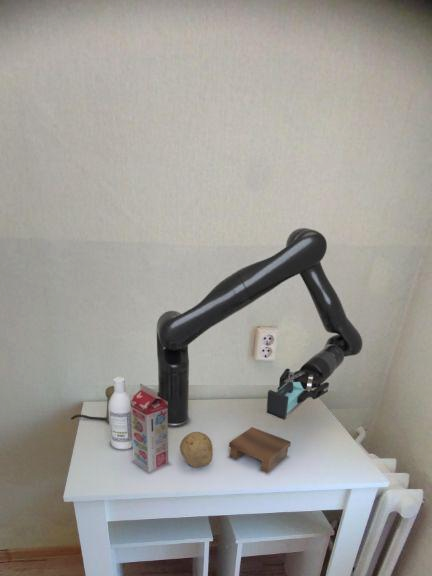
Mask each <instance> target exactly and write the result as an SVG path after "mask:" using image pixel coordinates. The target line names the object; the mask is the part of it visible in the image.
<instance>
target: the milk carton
mask: <svg viewBox="0 0 432 576" xmlns="http://www.w3.org/2000/svg"><path fill="white" fill-rule="evenodd" d="M139 385H140V386H139V388H140V389H139V390H138V391H137V392H136V393H135V394H134V395H133V396H132V397H130V398H131V399H130V403H131V421H132V440H133V447H132V456H133V463H134V464H135V465H138V466H139V467H140V468H142V469H143V470H144V471H146V472H147V473H151V472H153V471H155V470H157V469H160V468H162V467H164V466H167V465H168V464H169V426H168V402H167V401H166V400H164V399H162V398H160V397H158V391H156V390H154V389H152V388H150V387H148V386H147V385H144V384H142V383H140V384H139Z"/></svg>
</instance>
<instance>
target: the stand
mask: <svg viewBox="0 0 432 576" xmlns="http://www.w3.org/2000/svg"><path fill="white" fill-rule="evenodd" d="M290 447H291V441H290V440H288V439H285V438H283V437H280V436H277V435H274V434H273V433H269V432H266V431H263V430H261V429H258V428H256V427H253V426H251V427H250V428H248V429H247V430H245V431H244V432H243V433H241V434H240V435H238V436H237V437H235V438H233V439H232V440H231V441H229V442H228V448H230V451H229V458H231V459H233V460H237V459H239V458H240V457H242V456H243V455H247V456H250V457H252V458H255V459H256V460H259V461H261V469H260V471H261V472H263V473H265V474H269V472H270V471H271V470H273V469H274V468H275V467H276V466H278V465H279V464H280V463H281V462H283V461H284V460H285V459H286V458H287V457H288V451H289V448H290Z"/></svg>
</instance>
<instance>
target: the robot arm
mask: <svg viewBox="0 0 432 576" xmlns="http://www.w3.org/2000/svg"><path fill="white" fill-rule="evenodd" d="M327 249H328V242H327V239H326V237H325V236H324V235H323V233H321V232H319V231H318V230H315V229H313V228H312V229H311V228H307V227H300V228H296V229H294V230H293V231H292V232H291V233H290V234H289V235H288V237H287V239H286V242H285V247H284V248H283V249H281V250H280V251H278V252H277V253H275V254H273V255H272V256H270V257H267V258H265V259H262V260H259V261H256V262H254V263H251V264H249V265H245V266H244V267H242V268H239V269H238V270H236V271H235V272H233V273H232V274H230V275H228V276H227V277H225V278H224V279H222V280H221V281H219V283H217V284H216V285H215V286H214V287H213V288H212V289H211V290H210V291H209V292H208V293H207V295H206V296H205V297H204V298H202V300H201V301H200V302H198V303H197V304H196V305H194V306H192V307H190V309H188V310H185V311H183V312H182V313H181V312H179V311H177V310H167V311H165V312H164V313H162V314H161V315H160V316H159V318H158V319H157V322H156V357H157V381H158V390H157V392H158V397H160V398H162V399H164V400H166V401H167V402H168V427H174V428H175V427H181V426H185V425H186V424H187V423H188V422H189V393H190V392H189V391H190V390H189V389H190V387H189V386H190V385H189V384H190V357H189V345H191V343H193V342H194V341H195V340H196V339H198V338H199V337H201V335H203V334H204V333H205V332H207V331H208V330H209V329H211V328H213V327H214V326H216V325H217V324H219V323H221V322H223V321H225V320H226V319H228V318H229V317H231V316H233V315H234V314H236V313H238V312H240V311H242V310H243V309H245V308H247V307H248V306H250V305H251V304H253V303H254V302H255V301H257V300H259V299H260V298H262V297H263V296H265V295H266V294H268V293H269V292H271V291H272V290H274V289H276V288H277V287H278V286H280V285H281V284H282V283H284V282H286V281H288V280H290V279H291V278H293V277H296V276H298V275H299V276H300V277H301V279H302V281H303V283H304V285H305V287H306V289H307V291H308V293H309V296H310V298H311V300H312V303H313V305H314V308H315V309H316V312H317V314H318V317H319V319H320V322H321V324H322V326H323V329H324V330H325V331H326V332H327V333H330V334H334V335H332V336H330V337H329V338H328V339H327V340H326V342H325V344H324V346H323V348H322V349H321V350H320V351H319V352H318V353H316V354H314V355H313V356H312V357H311V358H309V360H307V361H306V362H305V363H304V364H302V366H301V367H300V368H299V370H296V371H294V372H293V371H291V369H290V368H285V370H284V371H283V372H282V373H281V375H280V376H279V384H278V387H277V389H276V390H277V391H278V390H279V389H280V388H281V387H282V386H284V385H285V384H286V383H288V382H300V383H301V385H302V387H303V389H304V390H303V392H302V393H301V394H300V395H299V396H298V397H297V403H299V404H300V403H301V402H302V403H304V402H305V401H306V400H307V399H310V398H312V400H317V399H319V398H320V397H321V396H323V395H325V394H326V393H328V391H329V388H330V387H329V386H330V383H329V382H327V381H326V380H328V379H329V378H330V377H331V376H332V375H333V373H334V371H336V369H338V368H339V367H340V366H341V365H342V363H343V362H344V360H345V358H346V357H354V356H357V355H359V354H360V353H361V351H362V349H363V345H364V344H363V337H362V336H361V333H360V332H359V331H358V330H357V328H356V327H355V326H354V324H353V323H352V322H351V321H350V319H349V318H348V316H347V314H346V312H345V309H344V307H343V303H342V301H341V299H340V297H339V295H338V293H337V292H336V290H335V288H334V287H333V285H332V284H331V282H330V280H329V279H328V277H327V275H326V272H325V270H324V269H323V265H322V263H321V262H322V260H323V259H324V257H325V255H326V253H327ZM277 391H276V392H277ZM76 418H85V419H87V420H100V421H107V417H100V416H89V415H86V414H74V415H73V416H71V418H70V420H72V421H73V420H75V419H76Z"/></svg>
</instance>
